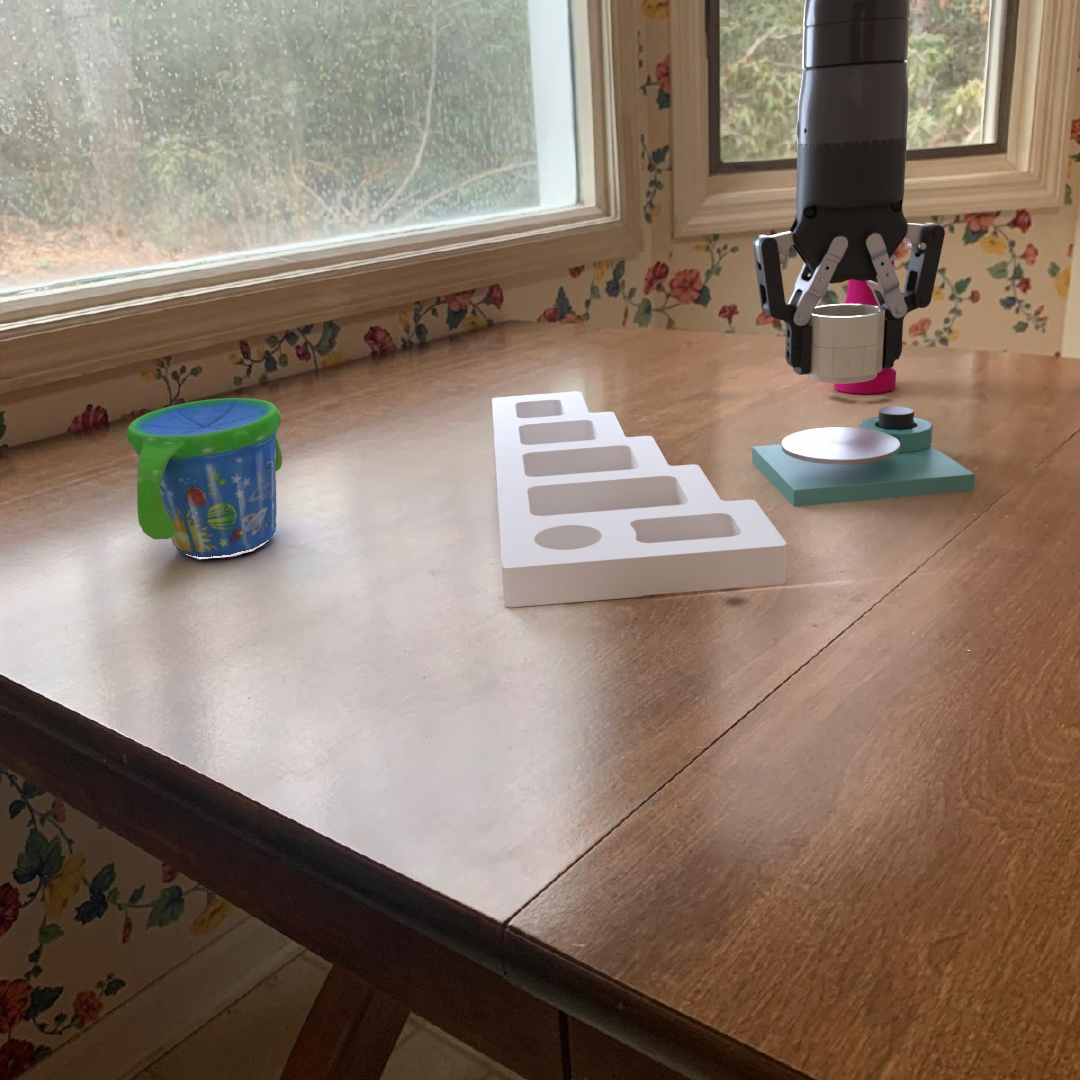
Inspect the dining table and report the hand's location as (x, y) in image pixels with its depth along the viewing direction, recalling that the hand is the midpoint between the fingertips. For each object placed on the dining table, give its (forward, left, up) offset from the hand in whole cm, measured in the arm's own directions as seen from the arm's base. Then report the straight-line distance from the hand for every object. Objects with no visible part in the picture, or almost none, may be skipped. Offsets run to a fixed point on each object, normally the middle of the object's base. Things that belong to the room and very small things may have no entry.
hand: (843, 368), depth 83 cm
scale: (-2, -2, -9) cm, 10 cm away
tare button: (-7, -5, -7) cm, 11 cm away
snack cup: (+48, +1, -10) cm, 49 cm away
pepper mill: (-13, -30, -10) cm, 34 cm away
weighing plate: (0, 0, -6) cm, 6 cm away
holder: (+18, -5, -9) cm, 21 cm away
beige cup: (0, 0, -1) cm, 1 cm away
